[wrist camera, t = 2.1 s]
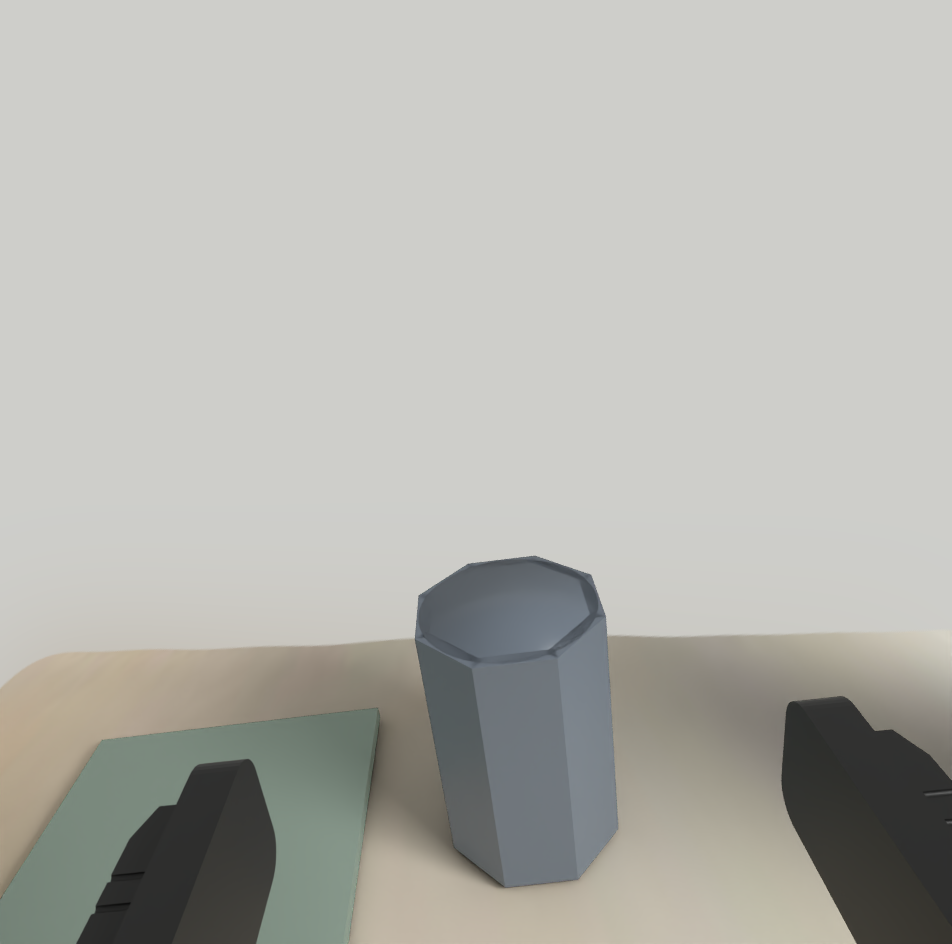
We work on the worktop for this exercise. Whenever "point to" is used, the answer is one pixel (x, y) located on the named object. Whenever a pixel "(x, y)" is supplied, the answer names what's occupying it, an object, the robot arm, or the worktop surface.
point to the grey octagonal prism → (521, 716)
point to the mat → (161, 783)
